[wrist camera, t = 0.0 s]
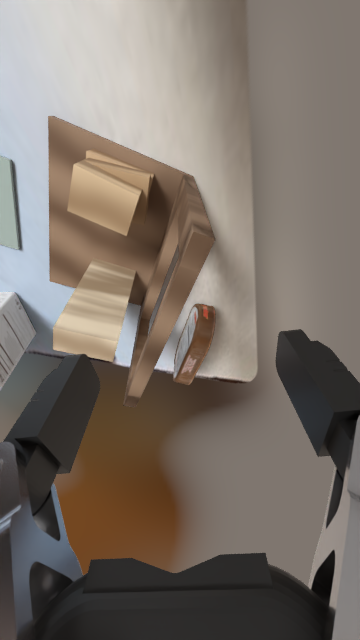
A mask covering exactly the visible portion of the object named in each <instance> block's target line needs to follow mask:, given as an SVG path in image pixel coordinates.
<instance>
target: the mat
mask: <svg viewBox="0 0 360 640" xmlns="http://www.w3.org/2000/svg"><path fill="white" fill-rule="evenodd" d="M0 245H4V246H7V247H11V248H14V249H18V250H19V249H20V243H19V233H18V223H17V212H16V202H15V191H14V181H13V171H12V160H11V159H8V158H5V157H3V156H0Z"/></svg>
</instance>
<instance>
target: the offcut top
mask: <svg viewBox="0 0 360 640" xmlns="http://www.w3.org/2000/svg"><path fill="white" fill-rule="evenodd" d="M141 192H142V189H140V188H138V187H137V186H135V185H133V184H131V183H129V182H127V181H125V180H123V179H121V178H119V177H117V176H115V175H113V174H111V173H109V172H107V171H105V170H103V169H101V168H99V167H97V166H95V165H93V164H91V163H89V162H87V161H85V160H82V161H80V162H78V163H75V164H74V165H73V173H72V180H71V187H70V194H69V202H68V209H67V211H69V212H71V213H74V214H76V215H78V216H81V217H83V218H85V219H88V220H90V221H92V222H95V223H97V224H99V225H102V226H104V227H106V228H109V229H111V230H114V231H116V232H118V233H121V234H123V235H125V236H127V234H128V231H129V229H130V226H131V223H132V220H133V217H134V214H135V211H136V208H137V205H138V201H139V198H140V195H141Z"/></svg>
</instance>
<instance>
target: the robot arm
mask: <svg viewBox="0 0 360 640" xmlns="http://www.w3.org/2000/svg"><path fill="white" fill-rule="evenodd" d="M276 368H277V372H278V375H279V377H280V379H281V381H282V383H283V385H284V387H285V389H286V391H287V393H288V395H289V398H290V399H291V402H292V404H293V406H294V408H295V410H296V412H297V414H298V416H299V418H300V420H301V422H302V424H303V427H304V429H305V431H306V433H307V435H308V437H309V439H310V441H311V443H312V445H313V447H314V449H315V451H316V453H317V456H318V457H319V456H331V458H332V460H333V462H334V464H335V465H336V466H335V469H334V473H333V478H332V483H331V488H330V493H329V498H328V503H327V508H326V514H325V519H324V524H323V528H322V532H321V536H320V539H319V542H318V545H317V549H316V553H315V557H314V561H313V566H312V571H311V576H310V581H309V586H308V587H307V586H306V585H305V584H304V583H302V582H301V581H300V580H298V579H297V578H295V577H294V576H292V575H291V574H289V573H288V572H286V571H284V570H282V569H280V568H278V567H275V566H272V565H270V564H268V562H267V558H266V553H251V554H226V555H219V556H216V557H214V558H212V559H210V560H207V561H205V562H202V563H200V564H198V565H196V566H194V567H191V568H189V569H186V570H184V571H182V572H179V573H170V572H168V571H165V570H162V569H160V568H157V567H154V566H152V565H149V564H146V563H144V562H141V561H138V560H135V559H133V558H123V559H98V560H91V562H90V566H89V571H88V573H87V574H85V575H82V571H81V567H80V564H79V562H78V559H77V557H76V555H75V553H74V552H73V550H72V548H71V546H70V544H69V542H68V539H67V534H66V530H65V526H64V522H63V517H62V513H61V509H60V505H59V500H58V496H57V491H56V488H55V485H54V484H53V481H54V479H55V477H56V474H63V473H70V471H71V468H72V465H73V463H74V460H75V457H76V454H77V452H78V449H79V446H80V443H81V440H82V438H83V435H84V432H85V429H86V426H87V424H88V421H89V419H90V416H91V413H92V411H93V408H94V405H95V402H96V399H97V397H98V394H99V391H100V381H99V378H98V376H97V374H96V372H95V370H94V368H93V365H92V363H91V362H90V359H89V357H88V356H87V355H86V354H78V355H69V356H66V357H64V359H63V360H62V362H61V364H60V365H59V367H58V368H57V369H55V370H53V371H52V372H51V373H50V374H49V375H48V376H47V377H46V378H45V379H44V380H43V382H42V383H41V385H40V386H39V388H38V389H37V392H36V393H35V394H34V395H33V397H32V398H31V402H29V403H28V404H27V406H26V407H25V409H24V411H23V412H22V414H21V415H20V417H19V418H18V420H17V421H16V423H15V424H14V426H13V428H12V429H11V431H10V432H9V434H8V435H7V437H6V438H5V440H4V441H3V442H0V640H360V383H359V382H358V381H357V380H356V378H355V377H354V376H353V375H352V374H351V372H350V371H348V370H347V368H346V367H345V366H344V364H343V363H342V362H340V361H339V358H338V357H337V356H336V355H335V354H334V352H333V351H332V350H331V349H330V348H328V347H327V346H325V345H323V344H322V343H320V342H319V341H310V340H309V338H308V337H307V336H306V334H305V333H304V332H303V331H302V330H301V329H299V330H291V331H281V332H280V333H279V336H278V345H277V353H276Z"/></svg>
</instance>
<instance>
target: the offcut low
mask: <svg viewBox="0 0 360 640" xmlns="http://www.w3.org/2000/svg"><path fill="white" fill-rule="evenodd" d="M87 158H92V159H96V160H101V161H105V162H109V163H113V164H117V165H121V166H125V167H129V168H133V169H137V170H141V171H145V172H149V171H146V170H144V169H142V168H139V167H137V166H134V165H132V164H130V163H127V162H125V161H122V160H120V159H118V158H115V157H113V156H110V155H108V154H106V153H103V152H101V151H98V150H96V149H91V150H88V151H86V159H87ZM149 173H151V172H149ZM153 176H154V173H151V181H150V188H151V184H152V180H153ZM149 192H150V190H149Z"/></svg>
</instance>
